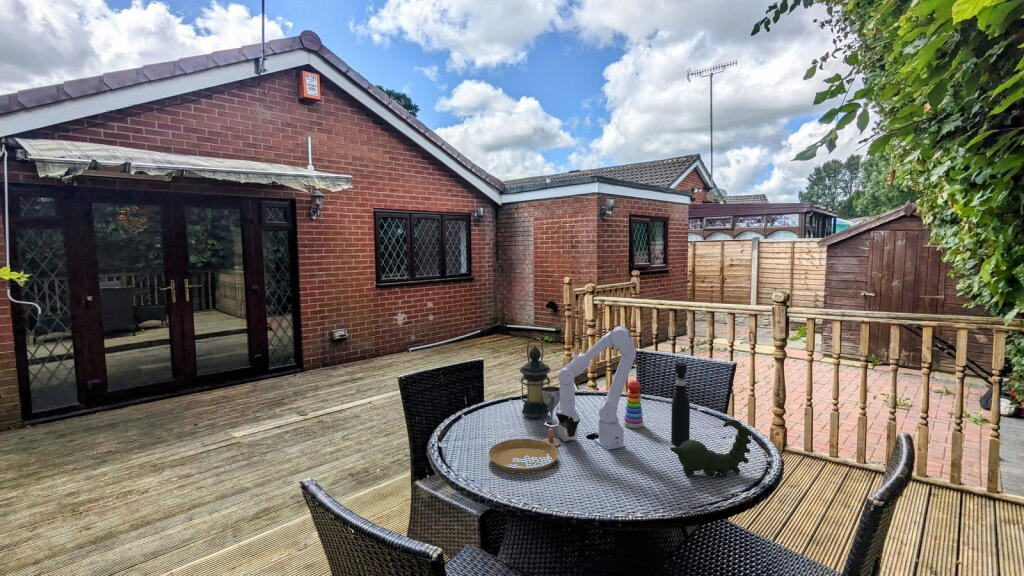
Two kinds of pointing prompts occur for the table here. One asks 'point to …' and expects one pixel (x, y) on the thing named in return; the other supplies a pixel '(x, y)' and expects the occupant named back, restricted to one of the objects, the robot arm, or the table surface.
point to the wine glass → (551, 399)
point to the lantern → (534, 383)
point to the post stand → (552, 439)
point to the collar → (566, 432)
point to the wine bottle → (680, 409)
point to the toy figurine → (714, 454)
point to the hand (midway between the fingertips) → (567, 433)
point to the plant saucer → (521, 454)
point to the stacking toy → (633, 407)
